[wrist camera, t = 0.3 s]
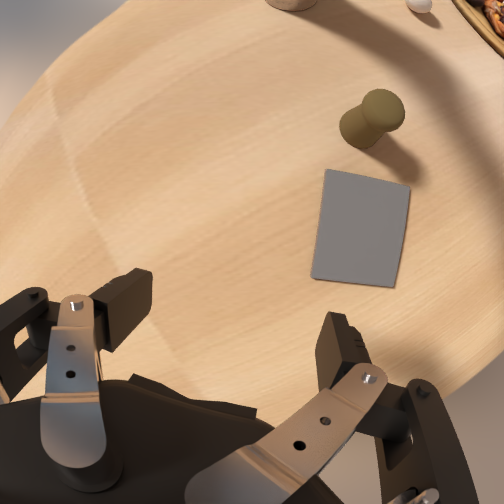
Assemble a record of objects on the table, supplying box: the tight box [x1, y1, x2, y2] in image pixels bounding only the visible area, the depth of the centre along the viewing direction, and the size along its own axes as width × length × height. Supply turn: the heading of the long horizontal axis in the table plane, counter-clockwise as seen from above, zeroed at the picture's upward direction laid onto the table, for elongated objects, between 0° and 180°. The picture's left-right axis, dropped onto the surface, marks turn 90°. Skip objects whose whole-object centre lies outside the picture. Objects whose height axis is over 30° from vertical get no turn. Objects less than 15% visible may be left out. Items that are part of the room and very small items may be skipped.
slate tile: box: [310, 169, 410, 287], centre depth 36 cm, size 15×13×1 cm
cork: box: [339, 89, 405, 149], centre depth 29 cm, size 6×6×11 cm
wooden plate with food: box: [452, 0, 504, 57], centre depth 20 cm, size 32×32×8 cm
